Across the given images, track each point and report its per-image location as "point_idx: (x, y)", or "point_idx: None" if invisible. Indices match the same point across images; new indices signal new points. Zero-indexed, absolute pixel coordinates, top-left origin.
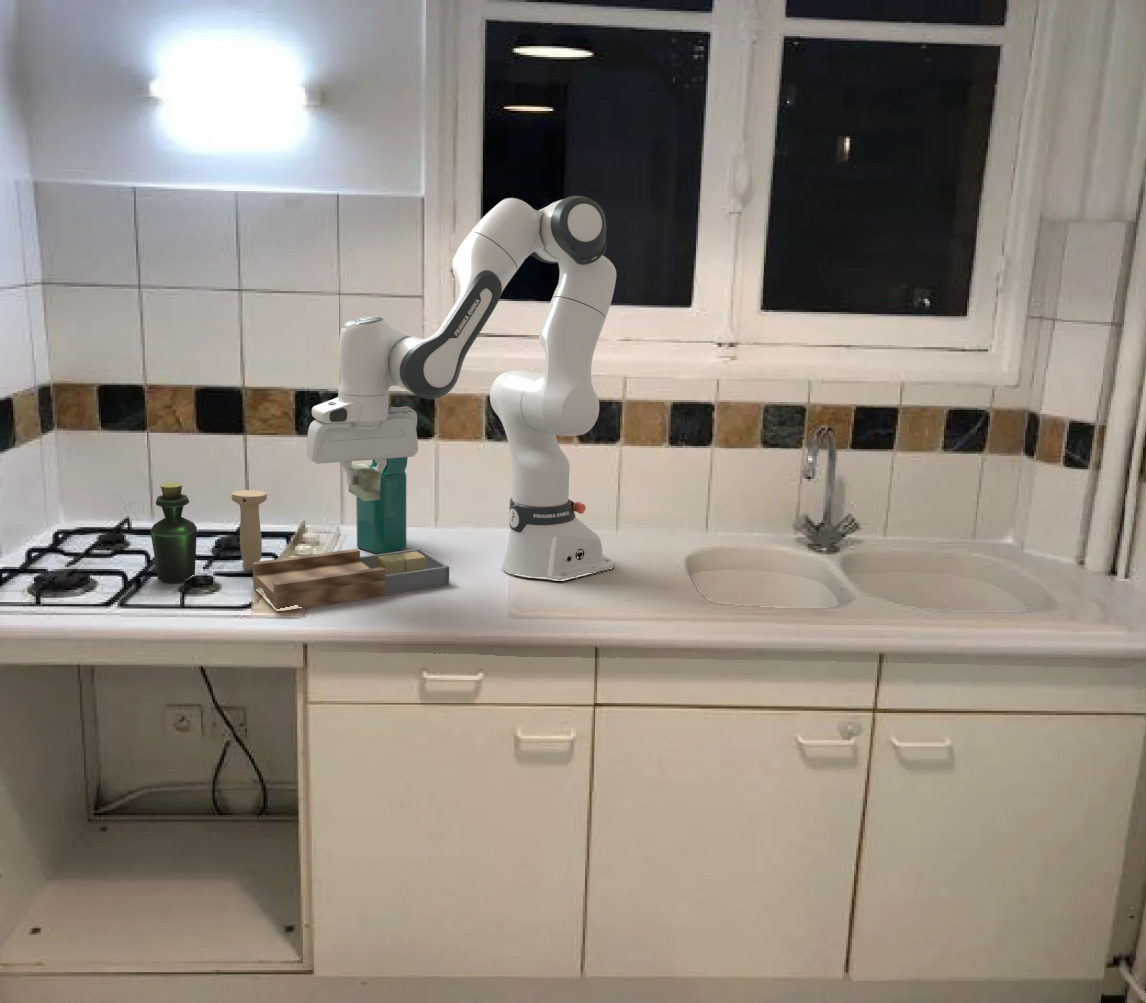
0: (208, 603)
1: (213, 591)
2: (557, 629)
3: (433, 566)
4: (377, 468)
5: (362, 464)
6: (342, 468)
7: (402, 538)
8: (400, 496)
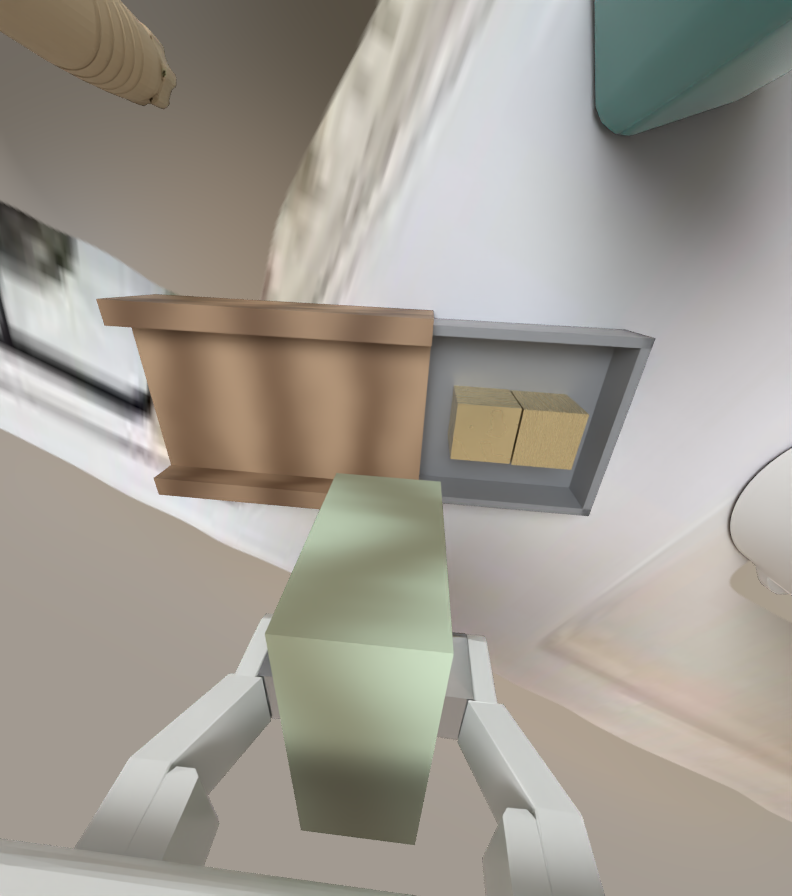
0: (60, 347)
1: (59, 265)
2: (559, 692)
3: (595, 438)
4: (487, 764)
5: (424, 666)
6: (169, 728)
7: (757, 85)
8: None
